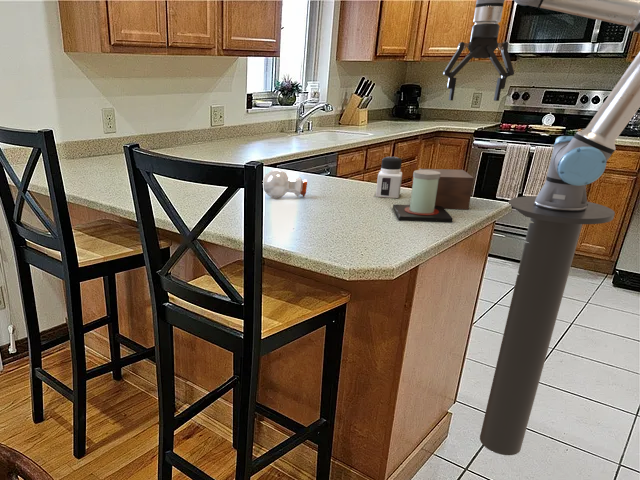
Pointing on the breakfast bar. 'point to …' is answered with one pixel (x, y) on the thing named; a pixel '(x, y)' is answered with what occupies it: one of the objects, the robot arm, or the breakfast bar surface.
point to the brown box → (453, 189)
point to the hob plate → (422, 214)
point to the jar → (424, 191)
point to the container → (389, 178)
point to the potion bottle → (283, 184)
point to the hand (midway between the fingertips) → (473, 100)
